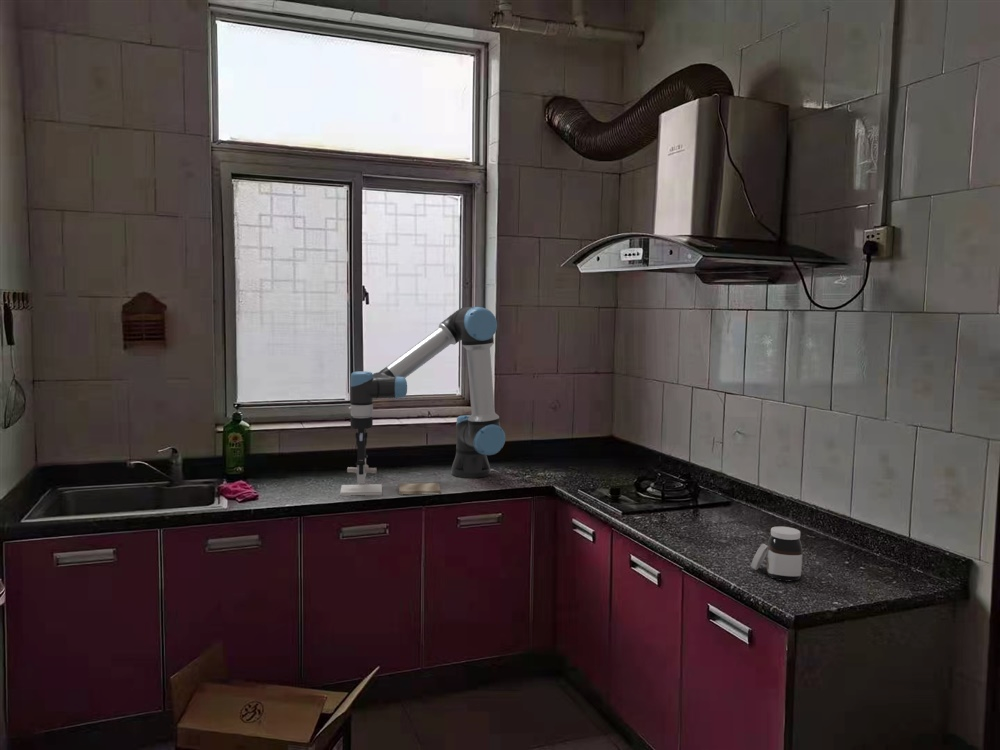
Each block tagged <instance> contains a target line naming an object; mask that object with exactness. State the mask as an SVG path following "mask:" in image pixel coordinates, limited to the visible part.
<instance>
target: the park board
mask: <svg viewBox="0 0 1000 750" xmlns="http://www.w3.org/2000/svg"><path fill="white" fill-rule="evenodd" d="M422 493H440V494H441V488H440V484H439V483H438V482H436V483H435V482H434V483H433V482H431V483H430V482H428V483H427V482H425V483H424V482H423V483H399V484H398V494H399V496H400V495H401V496H402V495H403V494H414V495H423V494H422ZM403 496H404V495H403Z"/></svg>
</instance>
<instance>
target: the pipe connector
mask: <svg viewBox="0 0 1000 750" xmlns="http://www.w3.org/2000/svg"><path fill="white" fill-rule="evenodd" d="M359 461H363V460H359ZM377 470H378V469H377V467H369V465H368V464H367V463H366V464H365V473H366V474H377V473H378V471H377ZM346 471H347V473H355V475H356V476H357V466H356V467H354V466H350V467H349V466H348V467H347V469H346ZM359 485H365V484H359Z"/></svg>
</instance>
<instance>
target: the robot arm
mask: <svg viewBox="0 0 1000 750" xmlns="http://www.w3.org/2000/svg"><path fill="white" fill-rule="evenodd" d="M497 330H498V321H497V318H496V316H495V314H494V313H493V312H492V311H491V310H489V309H488V308H484V307H482V306H474V307H473V306H465V307H460V308H459V309H457V310H456V311H454V312H453V313H451V314H450V315H449V316H448V317H447V318H445V319H444V320H443V321H442V322H440V323H439V324H438V328H437V329H435V330H434V331H432V332H431V333H430V334H428V335H427V336H425V338H423V339H422V340H421V341H419V342H418V343H417V344H415V345H414V346H412V347H411V348H409V349H408V350H407V351H406V352H404V353H403V354H402V355H400V356H399V357H397V358H396V359H395V360H393V361H392V362H391V363H390V364H388V365H386V367H383V369H381V370H380V371H378V372H374V373H373V372H371V371H365V370H364V371H363V370H362V371H359V370H358V371H353V372H352V373H351V374H350V385H349V387H350V389H349V390H350V393H349V394H350V406H348V410H350V416H351V417H350V428H351V429H356V430H357V432H355V439H356V440H355V443H356V444H355V446H356V448H357V449H356V450H357V452H356V453H357V455H356V456H357V459H356V462H354V465H355V466H356V467H357V475H356V481H357V482H356V485H360V484H364V485H366V477H367V473H365V464H367V458H368V457H369V454H367V452H366V451H367V444H368V432H367V430H366V429H371V428H373V422H374V421H373V420H374V419H373V417H372V416H373V414H374V404H373V401H374V400H377V399H400V398H401V399H402V398H405V397H406V396H407V393H408V383H407V382H408V381H407V379H406V378H407V377H409V376H410V375H411V374H413V373H414V372H415V371H417V370H418V369H419V368H421V367H422V366H423V365H425V364H426V363H428V361H430V360H432V359H433V358H435V357H436V356H437V355H438V354H439V353H441V352H442V351H443V350H445V349H446V348H447V347H449V346H450V345H453V346H454V345H456V344H458V343H459V342H461V345H462V348H464V349H465V350H466V357H467V361H466V362H467V370H468V381H469V382H468V383H469V396H470V397H469V399H470V410H471V414H469V415H467V414H466V415H459V416H457V417H456V424H455V427H456V428H455V429H456V430H455V432H456V434H455V437H456V439H455V440H456V441H455V442H456V443H455V445H456V447H455V449H456V450H455V457H454V460H453V462H452V466H451V471H450V472H451V475H453V476H455V477H458V478H464V479H465V478H466V479H467V478H468V479H473V478H474V479H475V478H484V477H488V476H490V475H491V465H490V463H489V460H488V456H493V455H496V454H497V453H499V452H500V451H501V450H502V449H503V447H504V445H505V443H506V432H505V431H504V430H503V428H502V427H501V423H500V416H499V414H497V413H496V411H495V398H494V396H495V395H494V386H493V383H494V382H493V371H492V368H493V367H492V358H491V357H492V356H491V355H492V354H491V348H492V346H493V345H494V344H495V339H494V335H495V334H496V331H497ZM359 460H363V461H359Z"/></svg>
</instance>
